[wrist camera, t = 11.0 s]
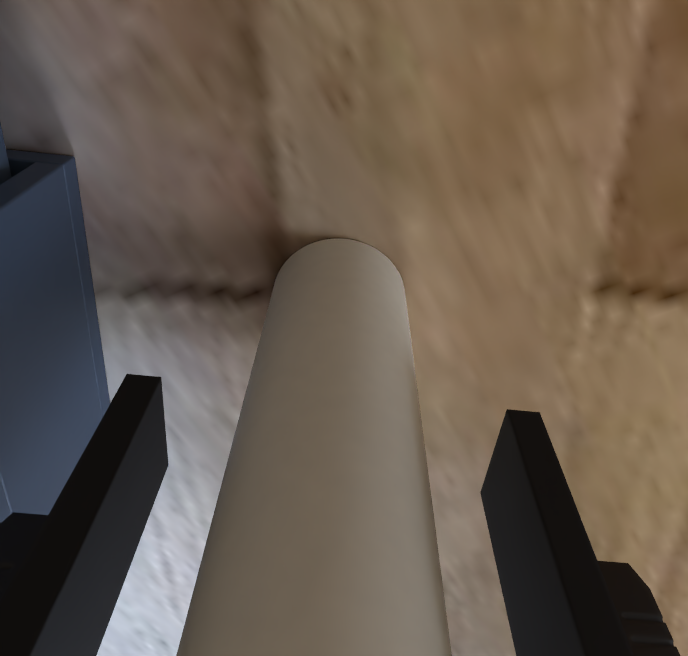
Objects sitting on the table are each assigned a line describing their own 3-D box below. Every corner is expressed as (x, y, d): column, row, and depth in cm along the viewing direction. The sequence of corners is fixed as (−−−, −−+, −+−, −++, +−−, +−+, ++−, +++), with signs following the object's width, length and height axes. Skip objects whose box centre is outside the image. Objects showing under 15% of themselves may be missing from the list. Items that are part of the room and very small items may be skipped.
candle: (292, 220, 18) (141, 805, 6) (425, 260, 19) (551, 869, 6) (260, 333, 21) (99, 932, 8) (379, 366, 21) (405, 970, 9)
